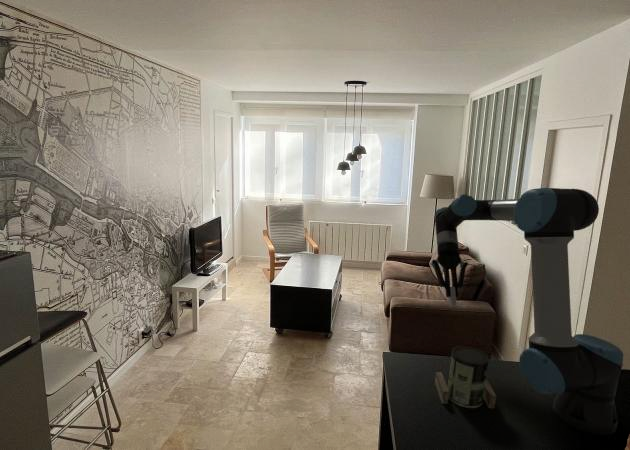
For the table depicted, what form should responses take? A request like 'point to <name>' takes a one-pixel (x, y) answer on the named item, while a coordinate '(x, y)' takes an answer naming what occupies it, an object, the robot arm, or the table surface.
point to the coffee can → (467, 376)
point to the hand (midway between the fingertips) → (453, 305)
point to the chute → (444, 392)
